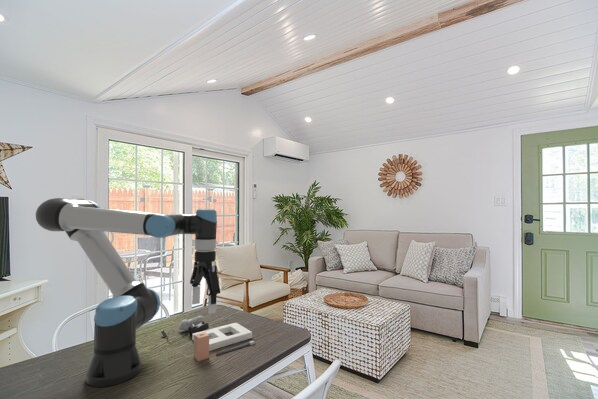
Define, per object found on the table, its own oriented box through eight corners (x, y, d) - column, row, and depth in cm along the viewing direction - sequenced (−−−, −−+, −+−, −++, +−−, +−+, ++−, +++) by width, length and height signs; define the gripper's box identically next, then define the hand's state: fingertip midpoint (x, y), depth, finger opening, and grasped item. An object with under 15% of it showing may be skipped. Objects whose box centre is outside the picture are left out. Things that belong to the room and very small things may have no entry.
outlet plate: (205, 351, 113) (206, 344, 113) (192, 339, 123) (192, 332, 123) (252, 337, 125) (252, 331, 126) (235, 327, 136) (236, 321, 136)
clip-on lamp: (165, 350, 120) (210, 332, 129) (162, 336, 119) (207, 318, 128) (162, 337, 130) (203, 320, 139) (159, 323, 129) (201, 308, 138)
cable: (216, 356, 109) (216, 353, 109) (214, 354, 110) (215, 352, 110) (254, 343, 120) (254, 341, 120) (253, 342, 121) (253, 340, 121)
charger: (198, 361, 106) (198, 337, 106) (193, 357, 109) (194, 334, 109) (208, 357, 108) (209, 334, 108) (204, 353, 111) (204, 331, 112)
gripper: (231, 253, 105) (229, 314, 104) (200, 246, 124) (198, 298, 123) (211, 255, 100) (209, 319, 99) (182, 247, 119) (180, 302, 118)
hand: (203, 308), depth 111 cm, fingers open, 13 cm apart
